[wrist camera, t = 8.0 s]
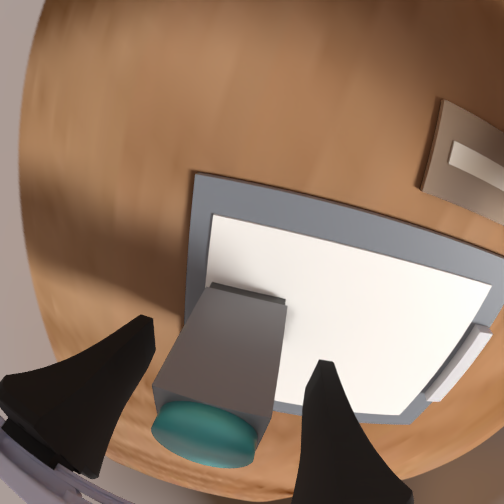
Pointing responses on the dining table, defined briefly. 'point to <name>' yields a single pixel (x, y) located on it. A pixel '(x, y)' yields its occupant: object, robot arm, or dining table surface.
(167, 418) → the teal-capped grey stamp
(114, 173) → the dining table surface
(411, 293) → the clipboard
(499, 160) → the word placard
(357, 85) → the dining table surface
